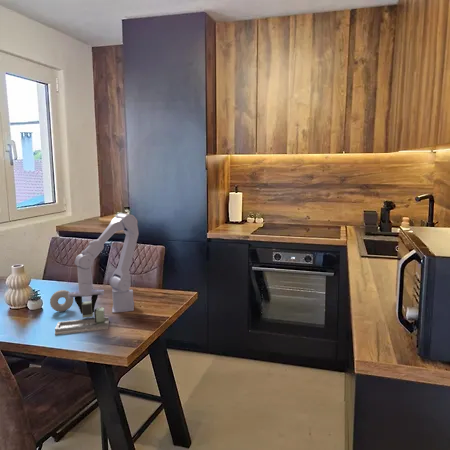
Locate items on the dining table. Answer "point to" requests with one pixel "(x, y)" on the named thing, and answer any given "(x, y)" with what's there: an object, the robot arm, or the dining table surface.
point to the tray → (84, 324)
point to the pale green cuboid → (87, 309)
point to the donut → (56, 297)
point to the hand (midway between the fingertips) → (87, 312)
